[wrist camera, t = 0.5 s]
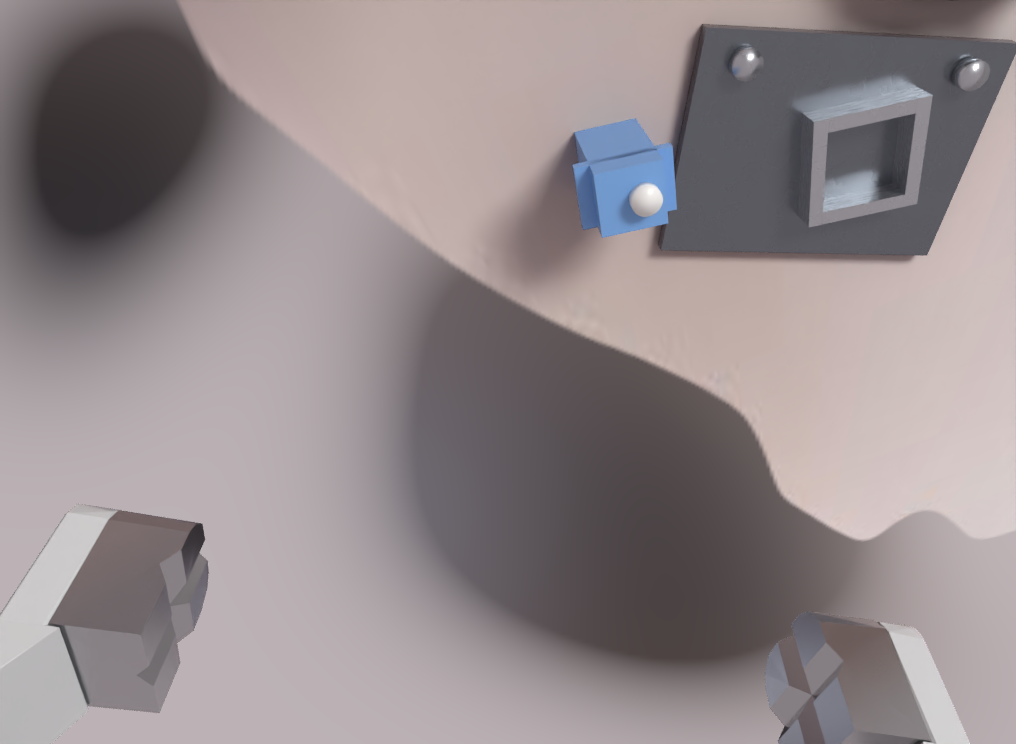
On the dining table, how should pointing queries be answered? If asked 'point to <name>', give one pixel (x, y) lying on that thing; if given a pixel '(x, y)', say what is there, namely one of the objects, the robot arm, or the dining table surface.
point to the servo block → (623, 179)
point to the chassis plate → (827, 139)
